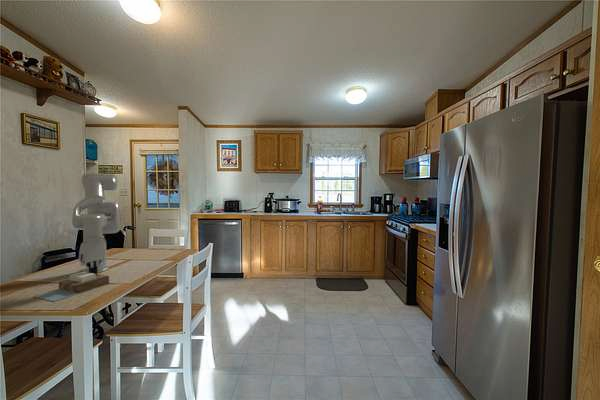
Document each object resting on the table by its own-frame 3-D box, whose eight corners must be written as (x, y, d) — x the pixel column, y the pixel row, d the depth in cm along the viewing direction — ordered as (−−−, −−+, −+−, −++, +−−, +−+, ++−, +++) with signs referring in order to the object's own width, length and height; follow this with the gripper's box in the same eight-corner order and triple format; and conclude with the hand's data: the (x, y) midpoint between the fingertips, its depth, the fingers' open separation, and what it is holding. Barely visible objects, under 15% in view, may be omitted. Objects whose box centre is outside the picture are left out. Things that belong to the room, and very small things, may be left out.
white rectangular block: (69, 280, 122) (69, 275, 122) (83, 276, 128) (83, 271, 128) (81, 282, 120) (81, 277, 119) (95, 278, 125) (95, 273, 125)
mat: (33, 296, 112) (33, 296, 112) (58, 289, 121) (58, 288, 121) (53, 301, 107) (53, 301, 107) (78, 294, 116) (78, 293, 116)
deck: (58, 289, 120) (58, 281, 120) (91, 280, 134) (90, 272, 134) (77, 293, 116) (77, 285, 116) (109, 283, 129) (108, 276, 129)
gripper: (103, 236, 136) (103, 269, 137) (70, 241, 122) (71, 278, 122) (113, 237, 134) (113, 271, 134) (81, 242, 120) (81, 280, 120)
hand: (93, 274), depth 128 cm, fingers closed
